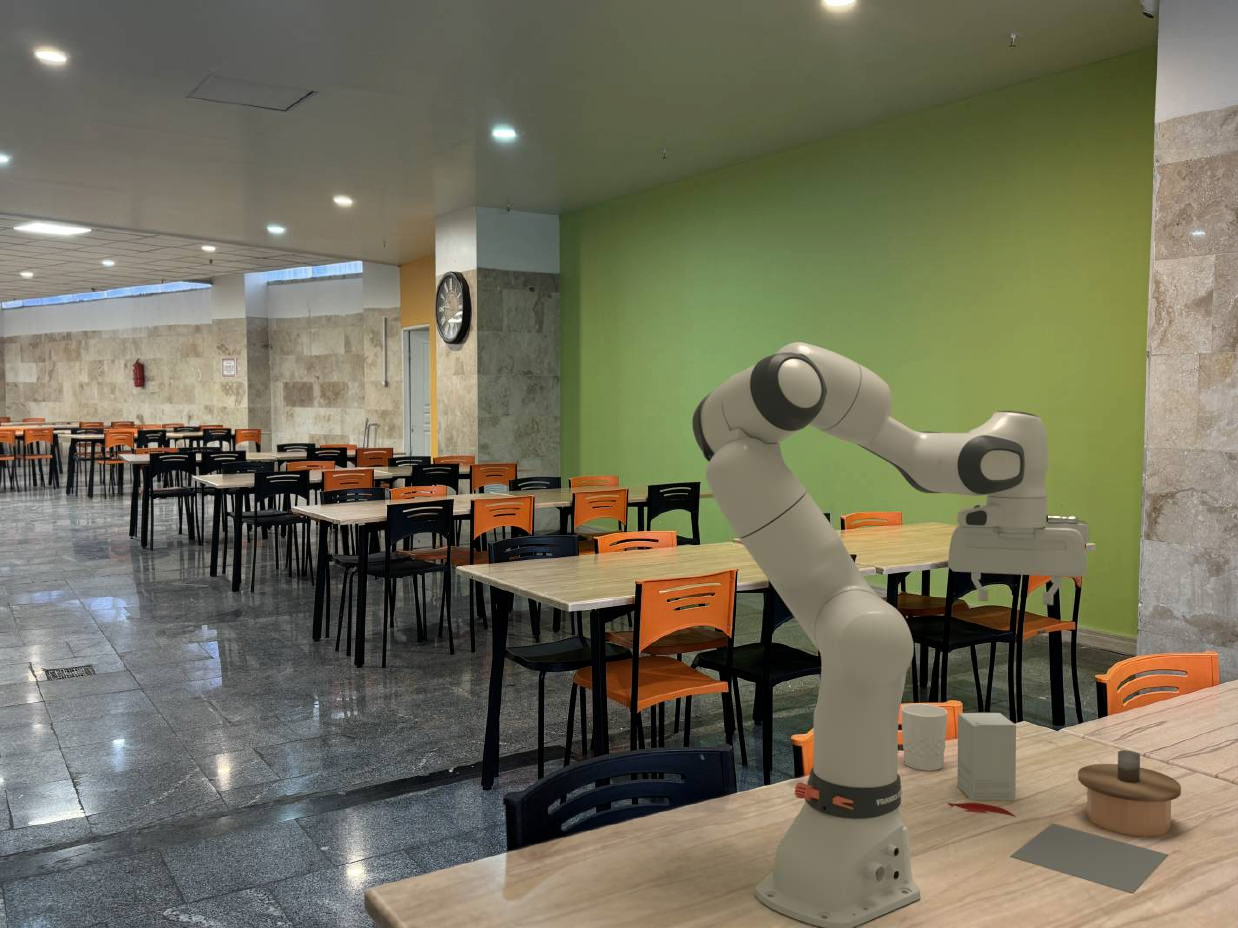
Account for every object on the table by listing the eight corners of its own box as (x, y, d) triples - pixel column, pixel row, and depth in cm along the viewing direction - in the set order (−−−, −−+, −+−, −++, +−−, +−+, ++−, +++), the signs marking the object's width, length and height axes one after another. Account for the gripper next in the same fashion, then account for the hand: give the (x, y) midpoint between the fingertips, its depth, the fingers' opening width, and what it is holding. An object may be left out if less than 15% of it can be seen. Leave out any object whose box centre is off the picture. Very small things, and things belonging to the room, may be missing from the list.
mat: (1132, 896, 128) (1132, 893, 128) (1009, 858, 140) (1009, 856, 140) (1168, 857, 140) (1168, 854, 140) (1052, 825, 151) (1052, 823, 151)
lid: (1170, 809, 142) (1171, 776, 142) (1067, 786, 151) (1067, 755, 151) (1188, 781, 153) (1189, 751, 153) (1091, 762, 162) (1091, 733, 161)
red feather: (939, 808, 159) (939, 796, 159) (953, 801, 162) (953, 789, 162) (1011, 830, 150) (1012, 818, 150) (1025, 822, 154) (1026, 810, 153)
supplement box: (1016, 802, 161) (1017, 724, 160) (970, 801, 161) (971, 724, 160) (1000, 785, 168) (1001, 711, 168) (956, 785, 168) (956, 711, 168)
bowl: (1156, 844, 144) (1157, 803, 144) (1077, 823, 152) (1078, 784, 152) (1178, 822, 152) (1178, 783, 152) (1102, 803, 160) (1102, 766, 160)
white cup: (892, 759, 181) (892, 705, 181) (929, 755, 183) (929, 701, 183) (917, 774, 173) (918, 717, 173) (955, 769, 176) (956, 713, 175)
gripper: (1087, 514, 155) (1086, 602, 155) (949, 511, 162) (948, 595, 163) (1091, 518, 149) (1090, 609, 150) (948, 514, 156) (947, 601, 157)
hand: (1015, 602), depth 156 cm, fingers open, 8 cm apart
